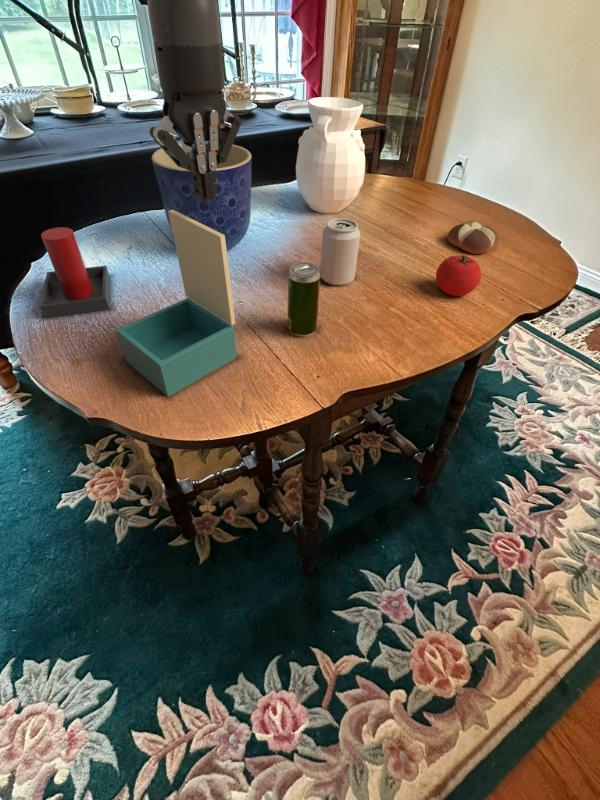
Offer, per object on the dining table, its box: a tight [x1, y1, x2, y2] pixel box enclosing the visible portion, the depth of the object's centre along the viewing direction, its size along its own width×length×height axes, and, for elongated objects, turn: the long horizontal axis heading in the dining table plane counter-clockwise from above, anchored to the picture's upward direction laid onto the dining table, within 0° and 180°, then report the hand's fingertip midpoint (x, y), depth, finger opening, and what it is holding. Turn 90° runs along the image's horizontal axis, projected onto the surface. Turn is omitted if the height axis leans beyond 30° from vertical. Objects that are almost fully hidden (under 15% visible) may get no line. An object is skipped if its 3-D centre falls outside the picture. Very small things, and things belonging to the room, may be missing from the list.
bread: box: [446, 220, 499, 255], centre depth 106 cm, size 11×11×5 cm
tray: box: [39, 265, 111, 319], centre depth 84 cm, size 11×13×3 cm
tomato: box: [435, 254, 482, 297], centre depth 88 cm, size 9×9×8 cm
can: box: [319, 217, 361, 287], centre depth 89 cm, size 8×8×12 cm
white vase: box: [295, 96, 366, 214], centre depth 113 cm, size 19×18×25 cm
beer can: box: [286, 261, 321, 338], centre depth 75 cm, size 5×5×12 cm
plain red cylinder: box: [40, 226, 93, 300], centre depth 80 cm, size 5×5×12 cm
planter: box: [151, 142, 253, 250], centre depth 97 cm, size 21×21×19 cm
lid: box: [168, 210, 236, 326], centre depth 66 cm, size 14×12×1 cm
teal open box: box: [115, 297, 237, 397], centre depth 70 cm, size 14×12×6 cm
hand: (206, 199), depth 60 cm, fingers closed
